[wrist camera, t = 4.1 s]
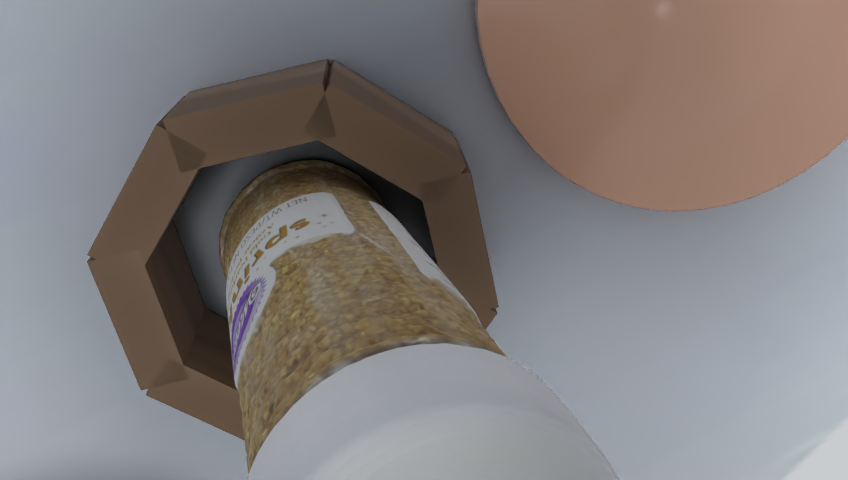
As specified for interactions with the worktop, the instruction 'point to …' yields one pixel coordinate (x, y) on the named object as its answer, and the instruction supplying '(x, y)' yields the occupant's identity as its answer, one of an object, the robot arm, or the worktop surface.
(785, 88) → the peach round disc
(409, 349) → the sprinkles bottle
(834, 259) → the worktop surface
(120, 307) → the ring
